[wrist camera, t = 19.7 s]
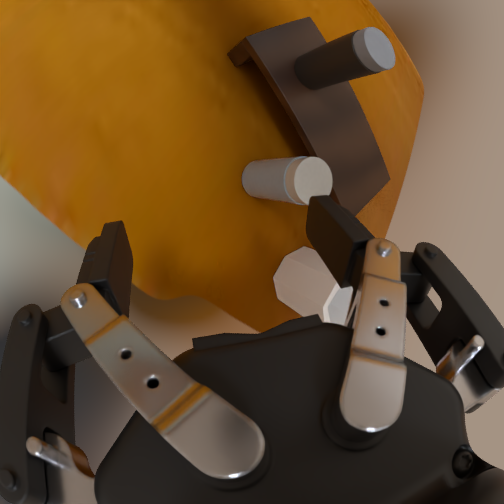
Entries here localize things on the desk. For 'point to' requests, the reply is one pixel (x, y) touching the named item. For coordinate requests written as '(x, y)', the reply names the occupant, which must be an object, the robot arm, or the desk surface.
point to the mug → (311, 287)
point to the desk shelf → (319, 112)
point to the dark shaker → (345, 59)
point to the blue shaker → (287, 179)
